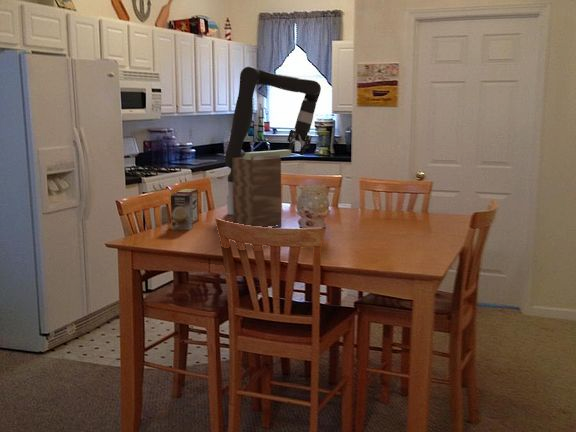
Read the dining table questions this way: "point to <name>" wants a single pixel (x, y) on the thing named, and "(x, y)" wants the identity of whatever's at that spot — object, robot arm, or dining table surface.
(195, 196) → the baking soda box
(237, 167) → the shelf stand
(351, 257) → the dining table surface
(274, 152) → the sage bar
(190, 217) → the coffee box
